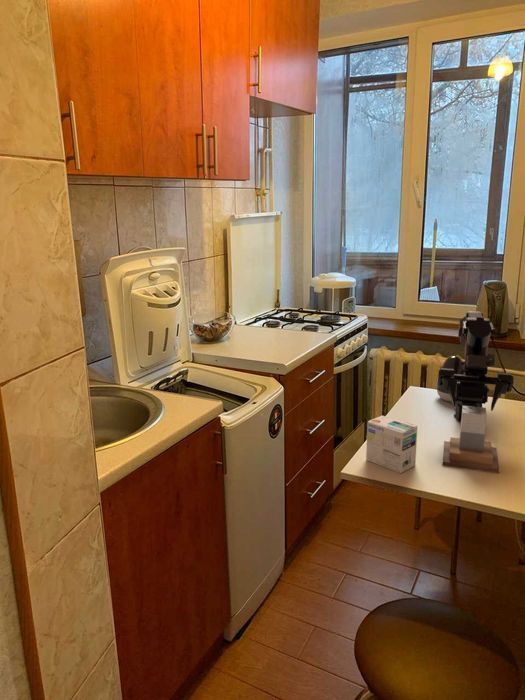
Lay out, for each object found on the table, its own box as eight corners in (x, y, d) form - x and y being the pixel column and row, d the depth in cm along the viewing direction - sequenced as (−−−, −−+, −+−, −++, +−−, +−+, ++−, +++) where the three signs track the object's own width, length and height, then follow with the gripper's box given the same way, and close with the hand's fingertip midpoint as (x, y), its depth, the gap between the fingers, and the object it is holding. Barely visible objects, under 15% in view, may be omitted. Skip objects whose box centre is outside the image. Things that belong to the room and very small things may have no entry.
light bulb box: (416, 465, 135) (418, 425, 132) (401, 474, 130) (403, 432, 127) (380, 452, 142) (382, 414, 140) (364, 460, 138) (366, 420, 135)
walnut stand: (444, 444, 146) (444, 434, 146) (495, 451, 142) (497, 440, 141) (442, 465, 134) (443, 454, 134) (498, 473, 130) (500, 461, 129)
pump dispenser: (465, 406, 174) (469, 361, 171) (432, 401, 179) (435, 357, 176) (470, 397, 183) (474, 354, 179) (438, 392, 188) (441, 350, 184)
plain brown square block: (459, 441, 141) (462, 405, 138) (482, 444, 139) (485, 407, 137) (459, 450, 136) (462, 412, 133) (482, 453, 134) (486, 415, 132)
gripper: (441, 339, 146) (436, 390, 139) (516, 344, 140) (516, 398, 132) (440, 360, 155) (435, 409, 148) (511, 365, 149) (510, 417, 142)
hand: (473, 408), depth 142 cm, fingers open, 9 cm apart
